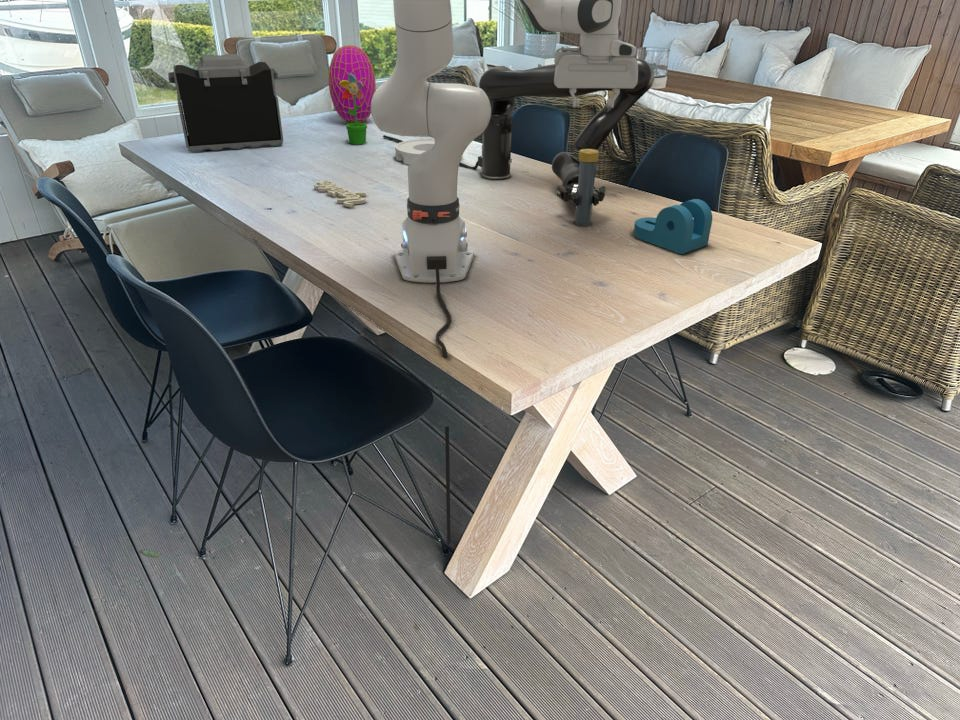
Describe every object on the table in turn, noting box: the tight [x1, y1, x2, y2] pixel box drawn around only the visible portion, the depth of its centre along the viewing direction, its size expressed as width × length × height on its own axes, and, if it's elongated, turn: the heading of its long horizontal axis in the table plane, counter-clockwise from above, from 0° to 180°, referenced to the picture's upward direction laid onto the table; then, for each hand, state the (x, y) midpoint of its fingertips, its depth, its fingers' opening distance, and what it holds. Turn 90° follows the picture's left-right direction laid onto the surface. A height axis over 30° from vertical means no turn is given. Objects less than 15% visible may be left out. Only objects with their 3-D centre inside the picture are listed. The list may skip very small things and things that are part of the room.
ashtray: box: [394, 138, 435, 166], centre depth 243 cm, size 23×23×4 cm
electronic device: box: [167, 53, 284, 153], centre depth 252 cm, size 37×22×30 cm, turn 111°
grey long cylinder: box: [574, 160, 597, 227], centre depth 181 cm, size 4×4×19 cm
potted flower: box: [339, 73, 368, 145], centre depth 255 cm, size 9×8×25 cm
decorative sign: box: [313, 179, 366, 209], centre depth 205 cm, size 26×1×10 cm
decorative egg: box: [328, 44, 377, 124], centre depth 286 cm, size 19×19×30 cm
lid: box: [578, 149, 600, 163], centre depth 177 cm, size 5×5×2 cm
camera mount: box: [632, 198, 713, 255], centre depth 173 cm, size 18×10×10 cm, turn 39°
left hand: (593, 107), depth 171 cm, fingers open, 7 cm apart
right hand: (586, 202), depth 180 cm, fingers closed on grey long cylinder, 4 cm apart
